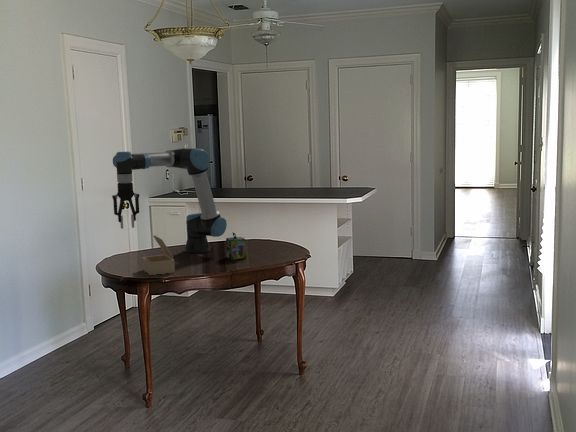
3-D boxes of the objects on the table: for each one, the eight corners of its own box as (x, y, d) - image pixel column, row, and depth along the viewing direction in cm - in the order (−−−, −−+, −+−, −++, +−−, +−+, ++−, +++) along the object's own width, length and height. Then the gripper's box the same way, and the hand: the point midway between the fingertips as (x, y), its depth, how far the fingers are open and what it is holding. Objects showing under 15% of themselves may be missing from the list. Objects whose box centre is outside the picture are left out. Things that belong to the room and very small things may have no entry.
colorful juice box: (246, 258, 357) (245, 233, 355) (231, 260, 353) (230, 234, 351) (241, 255, 365) (240, 230, 363) (226, 257, 362) (225, 231, 360)
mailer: (142, 270, 333) (142, 257, 332) (166, 267, 339) (166, 254, 338) (150, 275, 320) (149, 262, 319) (174, 272, 326) (174, 259, 325)
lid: (153, 236, 333) (154, 235, 334) (164, 253, 337) (165, 252, 338) (160, 240, 321) (162, 239, 321) (172, 258, 325) (173, 257, 325)
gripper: (108, 184, 308) (111, 230, 312) (144, 181, 316) (146, 227, 320) (105, 182, 315) (108, 228, 318) (140, 180, 323) (143, 225, 327)
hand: (127, 227), depth 319 cm, fingers open, 5 cm apart
